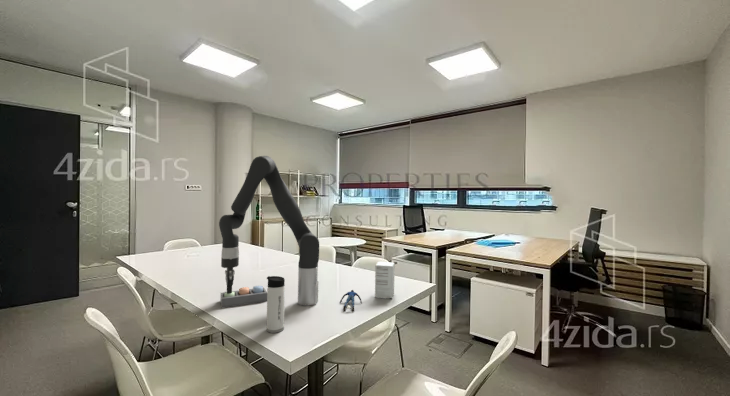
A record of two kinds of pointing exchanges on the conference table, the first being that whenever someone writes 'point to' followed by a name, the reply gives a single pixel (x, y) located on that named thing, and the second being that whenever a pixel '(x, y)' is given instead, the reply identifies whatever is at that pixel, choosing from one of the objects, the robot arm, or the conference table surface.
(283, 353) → the conference table surface
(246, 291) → the orange button
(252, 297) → the tray
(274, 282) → the travel mug
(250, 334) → the conference table surface
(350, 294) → the person figurine
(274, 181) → the robot arm
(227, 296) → the sage button
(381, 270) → the supplement box
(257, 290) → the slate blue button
